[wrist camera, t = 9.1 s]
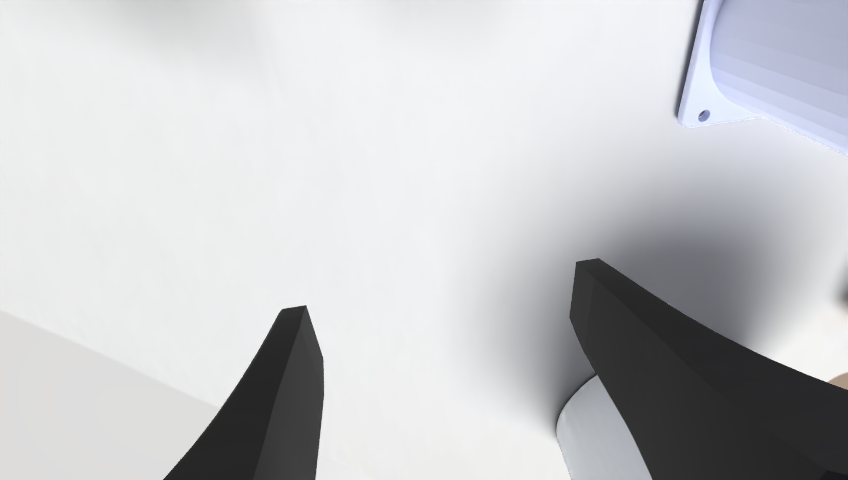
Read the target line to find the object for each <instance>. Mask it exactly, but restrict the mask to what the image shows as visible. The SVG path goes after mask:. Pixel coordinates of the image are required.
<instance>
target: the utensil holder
mask: <svg viewBox="0 0 848 480" xmlns="http://www.w3.org/2000/svg"><path fill="white" fill-rule="evenodd" d="M556 433H557V439H558V442H559V446H560V449H561V452H562V455H563V458H564V460H565V463H566V466H567V468H568V471H569V474H570V477H571V480H652V478H651V476H650V473H649V471H648V469H647V467H646V465H645V462H644V460H643V458H642V456H641V454H640V452H639V449H638V447H637V445H636V443H635V441H634V439H633V437H632V435H631V433H630V431H629V429H628V427H627V425H626V423H625V422H624V420H623V418H622V416H621V415H620V413H619V411H618V410H617V408H616V406H615V405H614V403H613V401H612V399H611V398H610V396H609V394H608V393H607V391H606V389H605V387H604V386H603V384H602V382H601V381H600V379H599V377H598V375H596V376H595V377H593V378H592V379H591V380H589V381H588V382H587V383H586V384H584V385H583V386H582V387H581V388H580V389H579V390H578V391H577V392H576V393H575V394H574V395H573V396H572V397H571V398H570V400H569V401H568V402H567V404H566V405H565V407H564V408H563V410H562V412H561V414H560V416H559V419H558V422H557V429H556Z"/></svg>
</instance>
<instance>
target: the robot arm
mask: <svg viewBox="0 0 848 480" xmlns="http://www.w3.org/2000/svg"><path fill="white" fill-rule="evenodd" d="M702 111H704V114H703V115H702V116H701V117H700V118H698V117H699V115H700V113H701V112H702ZM756 118H766V119H768V120H770V121H772V122H774V123H776V124H779V125H781V126H783V127H785V128H787V129H789V130H792V131H794V132H796V133H798V134H800V135H802V136H805V137H807V138H809V139H811V140H813V141H815V142H817V143H820V144H822V145H824V146H826V147H828V148H830V149H833V150H835V151H837V152H839V153H841V154H843V155H846V156H848V0H704V3H703V8H702V12H701V16H700V21H699V25H698V29H697V34H696V38H695V43H694V47H693V51H692V56H691V60H690V64H689V69H688V73H687V78H686V82H685V86H684V91H683V95H682V99H681V104H680V108H679V113H678V122H679V124H681V125H682V126H684V127H685V128H694V127H701V126H707V125H714V124H721V123H728V122H735V121H742V120H749V119H756ZM570 320H571V322H572V325H573V327H574V330H575V332H576V335H577V337H578V339H579V342H580V344H581V346H582V349H583V351H584V353H585V354H586V356H587V358H588V360H589V361H590V363H591V365H592V367H593V368H594V370H595V372H596V374H597V375H598V377H599V379H600V381H601V382H602V384H603V386H604V387H605V389H606V391H607V393H608V394H609V396H610V398H611V399H612V401H613V403H614V405H615V406H616V408H617V410H618V411H619V413H620V415H621V416H622V418H623V420H624V422H625V423H626V425H627V427H628V429H629V431H630V433H631V435H632V437H633V439H634V441H635V443H636V445H637V447H638V449H639V452H640V454H641V456H642V458H643V460H644V462H645V465H646V467H647V469H648V471H649V473H650V476H651V478H652V480H848V390H846V389H843V388H841V387H838V386H835V385H832V384H829V383H827V382H824V381H822V380H819V379H817V378H814V377H812V376H809V375H806V374H804V373H802V372H799V371H797V370H795V369H792V368H790V367H787V366H785V365H783V364H780V363H778V362H776V361H773V360H771V359H769V358H767V357H765V356H762V355H760V354H758V353H756V352H754V351H752V350H750V349H748V348H746V347H744V346H742V345H740V344H738V343H736V342H734V341H732V340H730V339H728V338H726V337H724V336H722V335H720V334H718V333H716V332H714V331H712V330H711V329H709V328H707V327H705V326H704V325H702V324H700V323H698V322H697V321H695V320H693V319H691V318H690V317H688V316H686V315H685V314H683V313H681V312H680V311H678V310H676V309H675V308H673V307H671V306H670V305H668V304H667V303H665V302H664V301H662V300H660V299H659V298H657V297H656V296H654V295H653V294H651V293H650V292H648V291H647V290H645V289H644V288H642V287H641V286H639V285H638V284H636V283H635V282H633V281H632V280H630V279H629V278H627V277H626V276H624V275H623V274H621V273H620V272H619V271H617V270H616V269H614V268H613V267H611V266H610V265H608V264H607V263H605V262H603V261H602V260H600V259H599V258H597V259H591V260H585V261H579V262H576V269H575V277H574V285H573V293H572V302H571V310H570ZM323 400H324V368H323V356H322V353H321V350H320V347H319V344H318V341H317V338H316V335H315V332H314V328H313V325H312V322H311V319H310V316H309V313H308V310H307V307H306V305H305V306H299V307H292V308H286V309H282V310H281V311H280V313H279V314H278V316H277V318H276V320H275V322H274V324H273V325H272V327H271V329H270V331H269V333H268V335H267V336H266V338H265V340H264V342H263V343H262V345H261V347H260V349H259V350H258V352H257V354H256V356H255V357H254V359H253V360H252V362H251V364H250V365H249V367H248V369H247V370H246V372H245V374H244V375H243V377H242V378H241V380H240V381H239V383H238V384H237V386H236V387H235V389H234V390H233V392H232V393H231V395H230V396H229V398H228V399H227V401H226V402H225V403H224V405H223V406H222V408H221V409H220V411H219V412H218V413H217V415H216V416H215V418H214V419H213V420H212V422H211V423H210V424H209V426H208V427H207V428H206V430H205V431H204V432H203V433H202V435H201V436H200V437H199V438H198V440H197V441H196V442H195V443H194V445H193V446H192V447H191V448H190V450H189V451H188V452H187V453H186V454H185V455H184V457H183V458H182V459H181V460H180V461H179V462H178V464H177V465H176V466H175V467H174V468H173V469H172V470H171V471H170V473H169V474H168V475H167V476H166V477H165V478H164V479H163V480H315V477H316V468H317V458H318V449H319V439H320V430H321V420H322V410H323Z"/></svg>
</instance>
